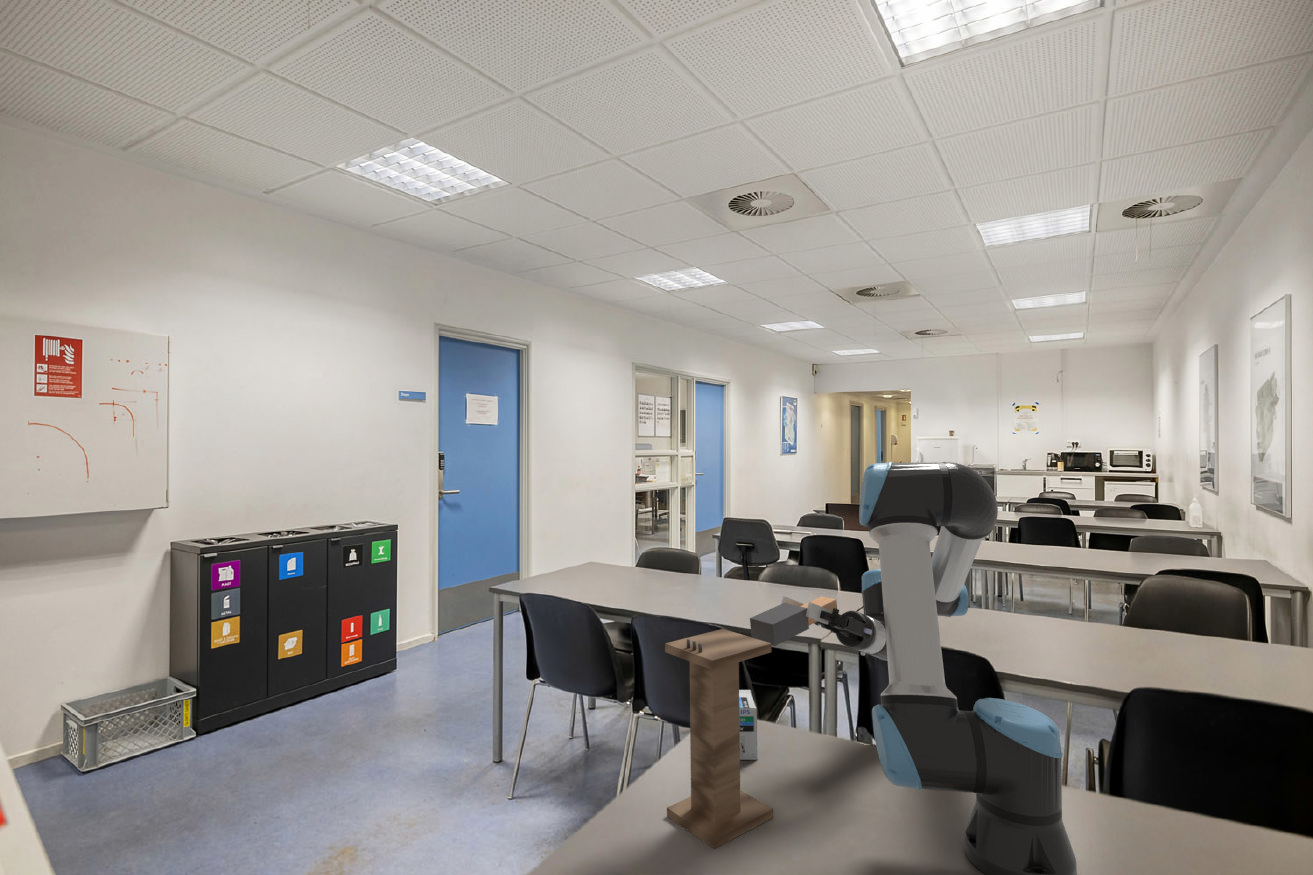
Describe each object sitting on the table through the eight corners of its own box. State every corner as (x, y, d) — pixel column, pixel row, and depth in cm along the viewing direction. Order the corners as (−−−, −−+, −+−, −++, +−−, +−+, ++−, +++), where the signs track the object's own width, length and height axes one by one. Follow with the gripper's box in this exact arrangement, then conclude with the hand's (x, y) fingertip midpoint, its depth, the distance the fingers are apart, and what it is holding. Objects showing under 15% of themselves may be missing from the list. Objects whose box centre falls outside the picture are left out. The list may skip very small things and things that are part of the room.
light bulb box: (758, 760, 136) (757, 707, 136) (725, 760, 136) (724, 707, 136) (752, 737, 146) (751, 688, 146) (721, 737, 146) (720, 688, 147)
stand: (773, 817, 115) (771, 635, 115) (714, 848, 106) (712, 651, 107) (724, 789, 124) (722, 621, 125) (666, 816, 116) (664, 635, 116)
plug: (841, 612, 132) (840, 592, 132) (774, 646, 119) (772, 624, 119) (818, 607, 137) (817, 588, 136) (751, 638, 124) (749, 618, 123)
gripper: (896, 660, 133) (831, 636, 119) (819, 639, 147) (754, 615, 134) (903, 623, 135) (841, 595, 121) (827, 606, 149) (763, 579, 136)
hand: (795, 606), depth 127 cm, fingers closed on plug, 5 cm apart
